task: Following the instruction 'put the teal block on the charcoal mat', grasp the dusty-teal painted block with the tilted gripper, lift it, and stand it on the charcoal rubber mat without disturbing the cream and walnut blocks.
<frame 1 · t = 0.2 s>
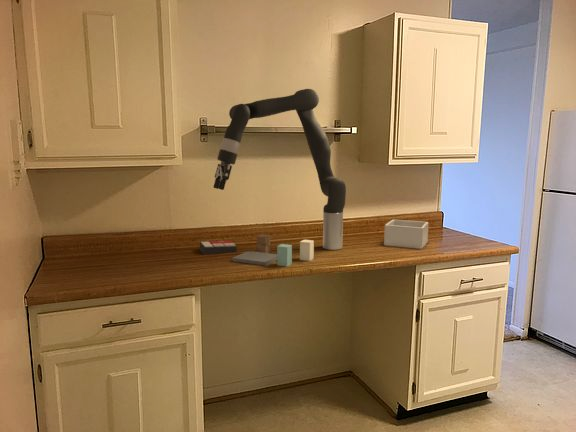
hand: (218, 188, 195), 31 cm above the counter, tool tilted 20°, fingers open, 8 cm apart
walnut block: (263, 252, 213), on the counter
teal block: (284, 264, 194), on the counter
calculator: (218, 251, 218), on the counter
charcoal mat: (256, 259, 201), on the counter
cream block: (306, 259, 203), on the counter
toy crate: (406, 243, 234), on the counter
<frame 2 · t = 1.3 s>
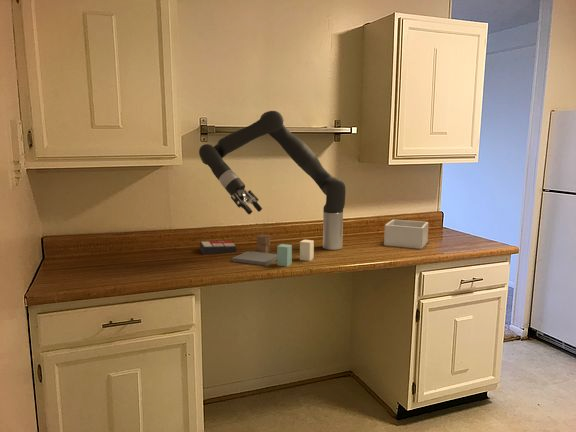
hand: (255, 211, 196), 21 cm above the counter, tool tilted 45°, fingers open, 8 cm apart
nothing on the counter moved.
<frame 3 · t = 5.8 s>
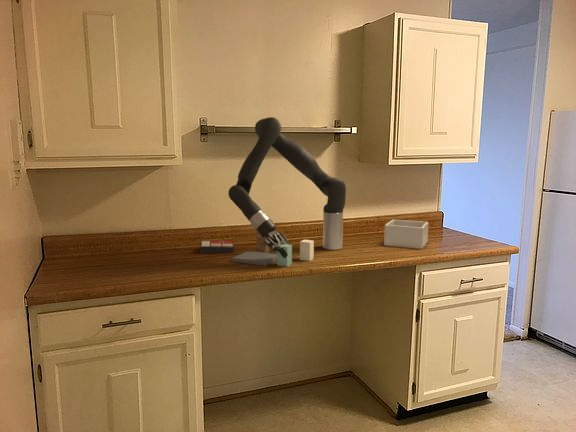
hand: (288, 255, 192), 4 cm above the counter, tool tilted 45°, fingers closed on teal block, 4 cm apart
teal block: (284, 264, 194), on the counter, touching gripper
when the fingers open (7 cm above the counter, at t = 11.9 s): teal block drops 1 cm, resting on charcoal mat.
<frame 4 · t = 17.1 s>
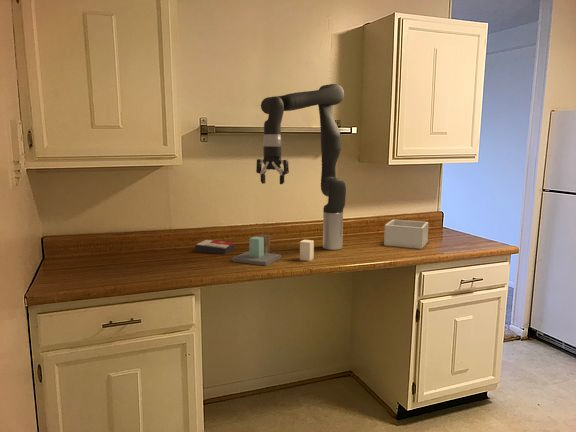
hand: (272, 183, 201), 32 cm above the counter, tool pointing down, fingers open, 8 cm apart
teal block: (256, 256, 201), point 1 cm above the counter, touching charcoal mat
at the end: teal block inside the target area on the charcoal mat (0.0 cm from its centre), point 1.5 cm above the charcoal mat's base; teal block tilted 0°; cream block moved 0.1 cm from its start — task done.
